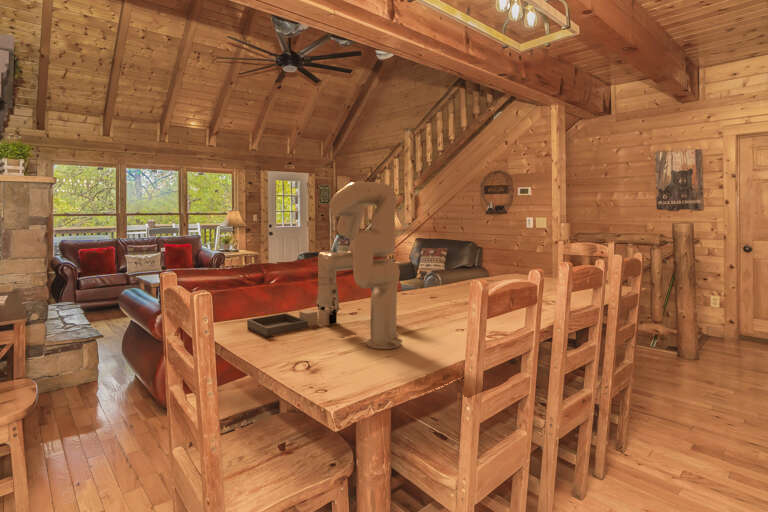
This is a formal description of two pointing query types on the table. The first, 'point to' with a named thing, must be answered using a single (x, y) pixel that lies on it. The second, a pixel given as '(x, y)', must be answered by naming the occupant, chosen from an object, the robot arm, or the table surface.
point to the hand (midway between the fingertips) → (327, 321)
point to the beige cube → (309, 316)
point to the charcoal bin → (276, 324)
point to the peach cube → (325, 317)
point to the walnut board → (321, 326)
